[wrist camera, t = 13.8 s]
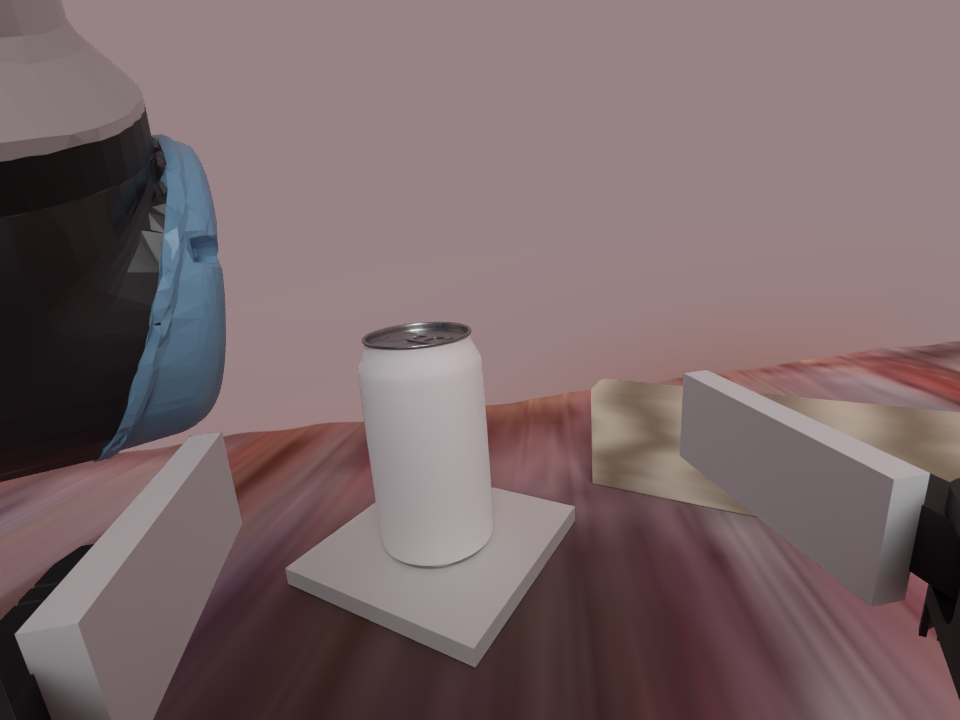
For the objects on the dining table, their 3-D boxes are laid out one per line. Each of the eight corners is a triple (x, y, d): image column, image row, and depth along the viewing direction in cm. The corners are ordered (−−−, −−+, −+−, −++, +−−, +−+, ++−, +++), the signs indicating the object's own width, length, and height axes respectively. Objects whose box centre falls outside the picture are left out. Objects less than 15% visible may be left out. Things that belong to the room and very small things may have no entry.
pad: (288, 583, 28) (284, 568, 28) (420, 482, 38) (419, 470, 37) (475, 667, 22) (473, 648, 21) (575, 520, 32) (574, 506, 31)
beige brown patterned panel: (592, 483, 36) (591, 389, 34) (603, 468, 38) (602, 378, 36) (1005, 567, 25) (1036, 436, 23) (990, 540, 27) (1017, 417, 25)
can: (432, 495, 34) (413, 317, 31) (515, 522, 30) (503, 324, 27) (358, 548, 29) (325, 342, 26) (447, 589, 25) (422, 354, 22)
